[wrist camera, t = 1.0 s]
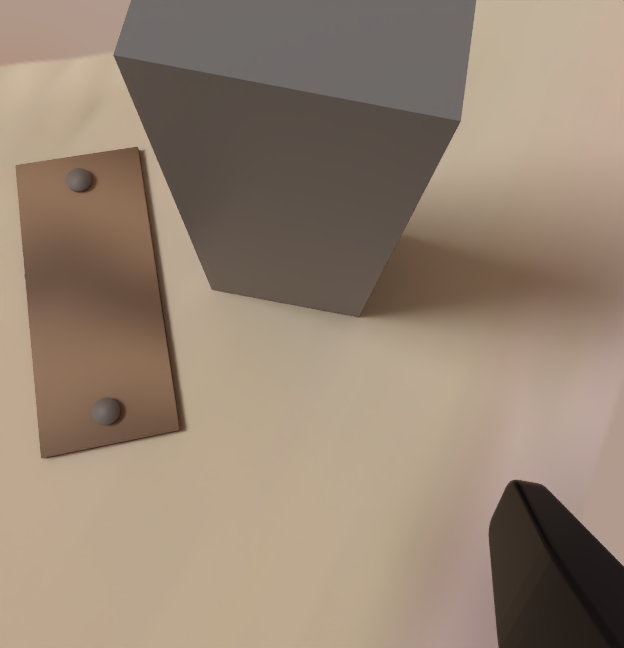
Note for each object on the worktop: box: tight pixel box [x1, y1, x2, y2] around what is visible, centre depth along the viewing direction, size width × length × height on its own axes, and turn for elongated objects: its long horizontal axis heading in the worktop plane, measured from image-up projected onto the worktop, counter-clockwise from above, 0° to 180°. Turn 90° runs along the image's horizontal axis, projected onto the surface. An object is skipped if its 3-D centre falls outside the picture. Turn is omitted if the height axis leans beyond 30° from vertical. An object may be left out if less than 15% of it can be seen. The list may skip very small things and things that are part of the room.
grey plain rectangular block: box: [114, 0, 476, 317], centre depth 16 cm, size 4×6×13 cm
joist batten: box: [16, 147, 180, 458], centre depth 21 cm, size 12×5×1 cm, turn 12°
